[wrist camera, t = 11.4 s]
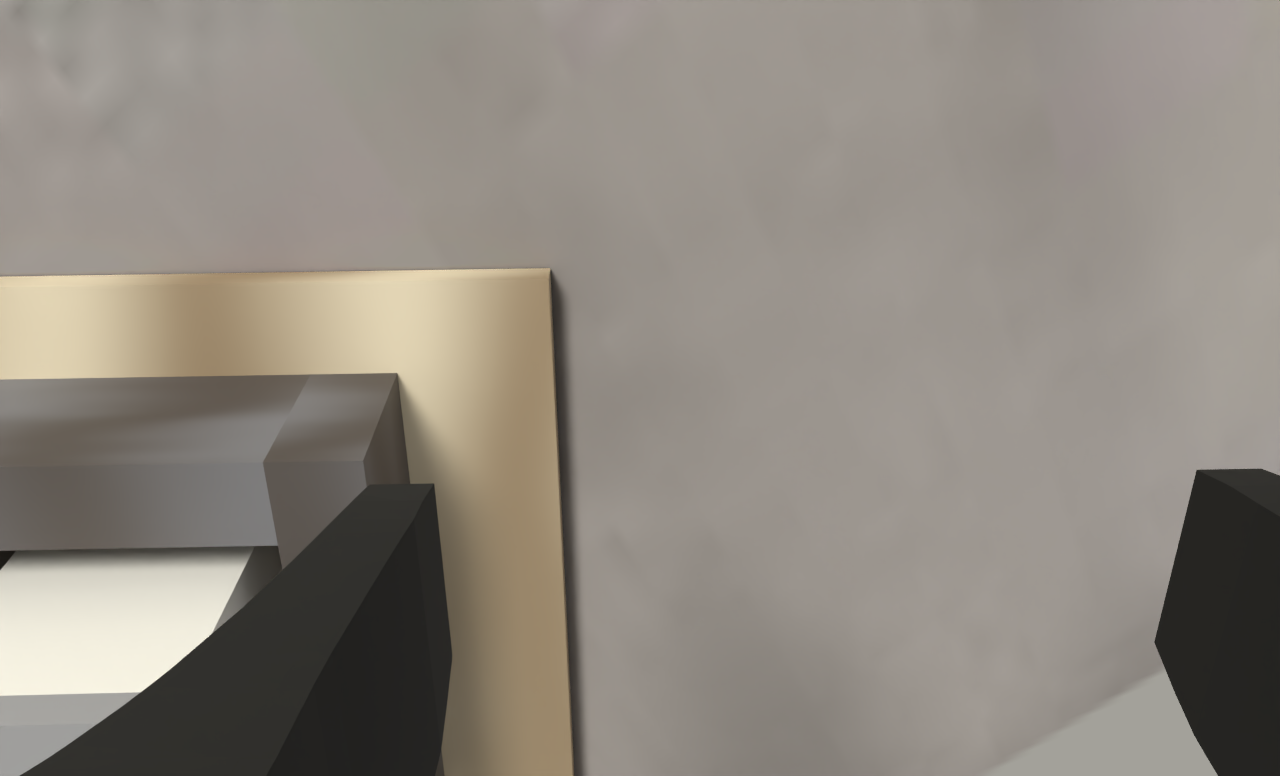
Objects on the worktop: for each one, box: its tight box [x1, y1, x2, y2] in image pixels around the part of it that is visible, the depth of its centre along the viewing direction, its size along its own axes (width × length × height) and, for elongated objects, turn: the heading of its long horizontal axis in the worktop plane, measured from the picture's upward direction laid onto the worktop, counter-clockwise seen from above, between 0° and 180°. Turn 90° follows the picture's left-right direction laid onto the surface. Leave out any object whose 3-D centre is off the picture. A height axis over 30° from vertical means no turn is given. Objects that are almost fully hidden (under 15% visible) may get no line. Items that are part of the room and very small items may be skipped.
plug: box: [0, 546, 282, 776], centre depth 19 cm, size 4×5×6 cm
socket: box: [0, 268, 574, 776], centre depth 21 cm, size 14×13×4 cm
